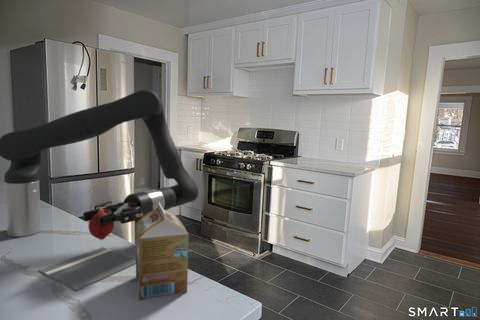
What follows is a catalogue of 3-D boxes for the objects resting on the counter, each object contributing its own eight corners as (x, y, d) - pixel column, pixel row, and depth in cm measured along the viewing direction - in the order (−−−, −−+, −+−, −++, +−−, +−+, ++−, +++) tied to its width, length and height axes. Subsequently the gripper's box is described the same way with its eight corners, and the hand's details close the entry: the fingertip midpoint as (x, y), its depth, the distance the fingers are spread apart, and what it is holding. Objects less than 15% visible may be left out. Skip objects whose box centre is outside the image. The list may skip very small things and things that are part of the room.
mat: (38, 271, 79) (38, 269, 79) (102, 248, 94) (102, 246, 94) (76, 291, 71) (76, 289, 71) (139, 262, 86) (139, 260, 86)
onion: (104, 245, 76) (103, 213, 75) (83, 242, 77) (82, 211, 76) (118, 236, 82) (117, 206, 81) (98, 234, 83) (97, 205, 82)
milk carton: (136, 277, 78) (136, 203, 76) (178, 271, 82) (179, 200, 80) (139, 300, 69) (139, 216, 66) (187, 292, 72) (189, 212, 70)
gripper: (128, 187, 94) (73, 199, 80) (163, 195, 87) (110, 209, 72) (128, 212, 95) (74, 227, 81) (163, 221, 88) (110, 240, 73)
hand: (91, 219), depth 77 cm, fingers closed on onion, 5 cm apart
